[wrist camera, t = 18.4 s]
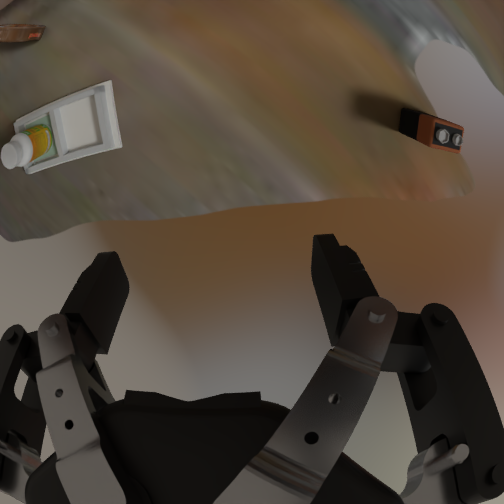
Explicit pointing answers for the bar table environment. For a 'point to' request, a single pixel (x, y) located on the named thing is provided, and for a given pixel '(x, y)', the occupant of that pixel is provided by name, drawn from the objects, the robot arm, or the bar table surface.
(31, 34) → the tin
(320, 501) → the robot arm
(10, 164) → the supplement bottle
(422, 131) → the battery
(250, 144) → the bar table surface
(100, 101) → the compartment tray
